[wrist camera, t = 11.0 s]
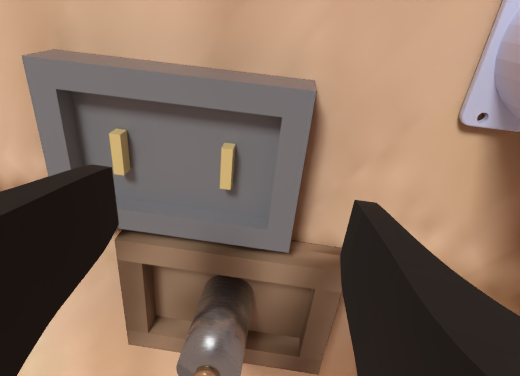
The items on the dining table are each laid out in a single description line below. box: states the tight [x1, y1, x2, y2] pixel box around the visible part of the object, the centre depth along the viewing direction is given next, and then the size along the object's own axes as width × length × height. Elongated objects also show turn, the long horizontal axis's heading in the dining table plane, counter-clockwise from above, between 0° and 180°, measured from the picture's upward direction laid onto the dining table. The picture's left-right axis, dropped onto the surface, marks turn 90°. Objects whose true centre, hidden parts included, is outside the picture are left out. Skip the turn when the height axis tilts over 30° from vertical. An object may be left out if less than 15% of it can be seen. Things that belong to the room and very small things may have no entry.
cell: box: [177, 275, 254, 376], centre depth 22 cm, size 4×4×6 cm
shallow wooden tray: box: [115, 229, 342, 375], centre depth 24 cm, size 14×10×2 cm
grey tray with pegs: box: [22, 49, 316, 253], centre depth 19 cm, size 14×9×3 cm
